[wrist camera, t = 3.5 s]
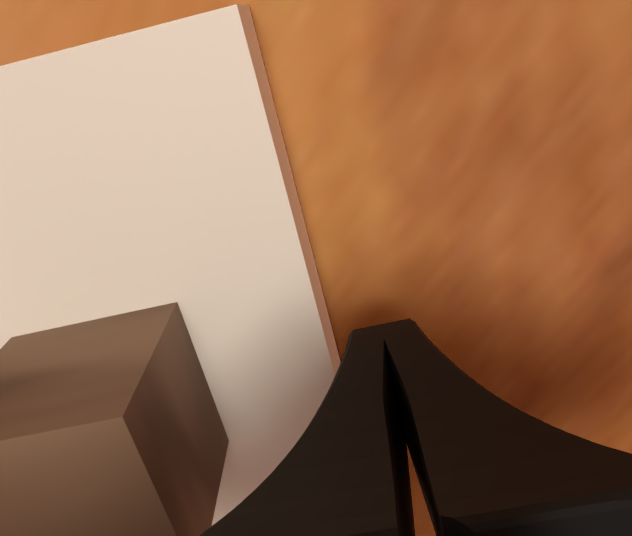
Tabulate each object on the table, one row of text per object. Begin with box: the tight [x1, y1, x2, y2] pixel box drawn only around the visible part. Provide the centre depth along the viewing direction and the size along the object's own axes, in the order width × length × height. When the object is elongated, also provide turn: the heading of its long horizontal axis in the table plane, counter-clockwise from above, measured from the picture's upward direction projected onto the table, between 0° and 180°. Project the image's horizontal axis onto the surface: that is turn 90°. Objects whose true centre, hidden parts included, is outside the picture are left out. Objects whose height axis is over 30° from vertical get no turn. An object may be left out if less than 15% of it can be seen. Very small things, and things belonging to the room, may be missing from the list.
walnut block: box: [0, 302, 229, 536], centre depth 12 cm, size 4×4×4 cm
